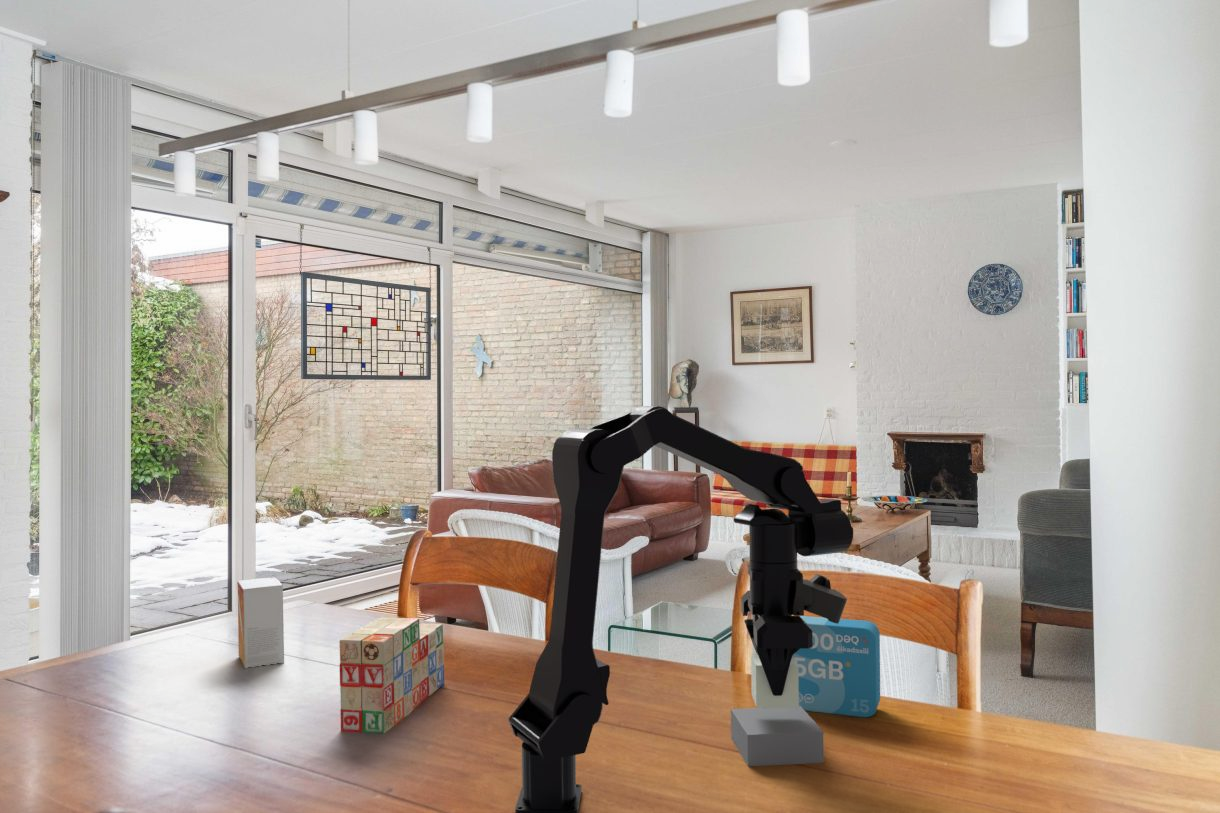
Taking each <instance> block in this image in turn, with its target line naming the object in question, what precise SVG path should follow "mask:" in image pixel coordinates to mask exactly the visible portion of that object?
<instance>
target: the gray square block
mask: <svg viewBox="0 0 1220 813" xmlns="http://www.w3.org/2000/svg"><path fill="white" fill-rule="evenodd" d="M730 739H731V740H732V742H733V744H734V745H735V747H736V749H737V750H738V753H739V754H740V756H741V757H742V759H743V760H744V762H745V764H746V766H747V767H764V766H765V767H766V766H783V765H802V764H803V765H805V764H823V763H824V758H825V757H824V731H823V729H821V727H820V726H819V725H818V724H817V723H816V721H815V720H814V719H813V718H812V717H811V716H810V715H809V713H808V712H807V711H805V710H804V709H803V708H802V707H801V706H799V708H756V707H751V708H750V707H748V708H731V709H730Z"/></svg>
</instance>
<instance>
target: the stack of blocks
mask: <svg viewBox="0 0 1220 813" xmlns="http://www.w3.org/2000/svg"><path fill="white" fill-rule="evenodd" d="M443 627H444V625H443V623H420V618H419V617H418V618H417V617H407V618H406V617H382V616H380V617H378V618H376V619H374V620H372V621H371V622H369V623H367V624H365V625H364V626H362V627H361V628H358V629H356V630H355V631H353V632H352V633H350V634H348V635H346V636H344V637H341V639H339V662H340V663H339V686H340V690H339V691H340V692H339V693H340V710H339V711H340V732H348V733H368V734H383V735H384V734H386V733H387V732H388V731H390V730H391V729H392V728H393V727H395V726H396V725H398V723H400V722H401V721H403V720H404V718H406V717H408V716H409V715H410V714H411V713H412V712H413V711H414V710H415V709H416V708H417V707H418V706H419V705H421V703H423V702H424V701H425V700H426V699H427V698H429V697H430V696H432V695H433V694H434V693H435V692H436V691H437V690H439V689H440V688H441V687H442V686H443V685H445V645H444V633H443V632H444V630H443V629H444V628H443Z"/></svg>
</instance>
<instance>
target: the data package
mask: <svg viewBox="0 0 1220 813" xmlns="http://www.w3.org/2000/svg"><path fill="white" fill-rule="evenodd" d="M800 617H801V618H802V619H803V620H804V621H805V622H806V623H807V624H808V625H809V627H810V628H811V630H812V644H813V647H812V648H808V649H799V650H798V651H797V652H796V653H795V654H793V657H794V659H795V661H796V662H797V664H798V675H799V706H801V707H802V708H803V709H804V710H805V711H806V712H815V713H823V714H832V715H840V716H848V717H856V718H870V717H872V716H874V714H876V712H877V709H878V707H879V704H880V701H881V645H880V644H881V642H880V641H881V640H880V638H881V637H880V636H881V635H880V629H879V627H878V626H877V625H876V624H875V623H874V622H872V621H870V620H869V621H868V620H860V619H859V620H858V619H847V618H845V619H844V618H840V621H839V623H838V624H837V623H833V622H830V621H829V620H828V619H827V618H824V617H821V616H807V615H804V616H800Z"/></svg>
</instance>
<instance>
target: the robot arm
mask: <svg viewBox="0 0 1220 813" xmlns="http://www.w3.org/2000/svg"><path fill="white" fill-rule="evenodd" d="M654 446H655V447H657V448H660V449H662V450H664V451H666V452H668V453H669V454H670V453H671V454H673V455H675V456H677V457H680V458H681V459H683V460H686V461H687V462H690V463H693V464H695V465H696V466H699V467H702V468H704V469H706V470H708V471H710V472H712V473H715V474H717V475H719V476H720V477H722V478H723V479H725V481H726V482H727V483H728V484H729V485H730V487H731V488H733V489H734V490H736V491H737V492H738V493H740V494H741V495H742V496H744V497H745V498H747V499H748V500H749V501H751V502H757V503H758V502H759V503H764V504H765V505H767V506H768V507H770V508H765V509H762V508H761V507H760V505H758V504H751V503H746V504H745V506H744V508H743V509H742V510H741V511H740V512H738V513H737V514H736V515H735V517H734V518H733V522H734V523H735V524H739V525H744V526H749V528H748V530H749V535H748V536H749V537H748V538H749V541H748V542H749V564H747V574H748V576H749V590H746V592H745V593H743V595H741V597H740V612H741V615H742V616H743V617H747V616H749V612H750V613H751V614H750V619H749V618H748V619H747V618H746V619H744V620H743V621H744V624H745V627H746V629H747V632H748V635H749V638H750V640H751V642H752V646H753V648H754V650H755V654H758V656H759V659H760V661H761V664H762V667H763V669H764V672H765V675H766V678H767V680H768V683H769V686H770V688H771V691H772V694H773V695H774V696H781V695H782V694H783V690H784V686H785V682H786V678H787V674H788V670H789V666H790V662H791V659H792V656H793V654H795V653H796V652H797V651H798V650H799V649H808V648H812V647H813V644H812V630H811V628H810V627H809V625H808V624H807V623H806V622H805V621H804V620H803V619H802V618H801V617H800V616H805V611H806V612H808V613H810V614H813V615H817V616H818V617H822V618H827V619H828V620H829V621H830V622H833V623H837V624H838V623H839V621H840V619H842V615H843V612H844V609H845V608H846V604H847V601H848V598H847V597H846V596H845V595H844V594H843V593H841V592H840V591H838V590H837V589H835V588H834V589H833V588H832V587H831V586H832V585H831V580H830V579H829V578H828V577H826V576H823V575H821V574H817V573H816V574H815V575H813V577H811V578H810V580H809V579H807V578H806V579H804V574H803V573H802V572H801V571H800V570H799V569H798V555H799V556H802V557H811V556H812V557H813V556H823V555H832V554H838V553H839V554H840V553H844V552H846V551H848V549H849V548H850V547H851V545H852V543H853V540H854V527H853V526H852V524H851V521H850V518H849V516H848V515H847V514H846V512H845V511H844V510H843V509H842V500H840V499H834V498H824V499H821V500H820V499H819V498H818V497H817V495H816V493H815V491H814V490H813V488H812V487H811V486H810V484H809V482H808V481H807V479H806V476H805V473H804V467H803V465H802V464H801V462H799V461H798V460H797V459H795V458H792V457H789V456H784V455H780V454H775V453H771V452H766V451H758V450H754V449H750V448H747V447H746V448H745V447H743V446H741V445H739V444H737V443H735V442H733V441H731V440H729V439H727V438H724V437H722V436H720V435H718V434H716V433H714V432H712V431H710V430H708V429H706V428H703V427H701V426H699V425H697V424H694V422H693V423H692V422H690V421H688V420H686V419H684V418H682V417H680V416H678V415H676V414H674V413H672V412H670V410H669V409H667V408H666V407H664V406H659V405H658V406H656V405H650V406H649V405H647V406H646V405H642V406H637V407H636V408H634V409H633V410H631V411H629V412H627V413H625V414H623V415H620V416H616V417H614V418H612V419H610V420H606V421H604V422H601V423H597V424H595V425H593V426H591V427H589V428H585V427H584V428H582V427H581V428H580V427H577V428H570V429H568V430H566V431H564V432H563V433H562V434H561V435H560V436H559V437H557V438H556V440H555V441H554V443H553V447H552V452H551V458H552V473H553V475H552V476H553V483H554V487H555V490H556V494H557V496H558V501H559V504H560V511H561V513H560V514H561V515H560V522H559V523H560V524H559V534H558V545H557V546H558V547H557V557H556V564H555V567H556V568H555V575H554V586H553V597H552V598H553V599H552V609H551V616H550V617H551V618H550V629H549V637H548V640H547V643H546V645H545V647H544V649H543V650H542V651H541V652H542V653H541V654H540V656H539V658H538V660H537V661H536V664H535V667H534V671H533V675H532V680H531V684H530V687H529V692H528V694H527V695H525V697H524V699H523V700H522V701H521V702H520V704H519V705H518V706H517V707H516V708H515V709H514V711H513V713H512V714H511V715H510V716H509V717H508V722H509V725H510V728H511V730H512V731H511V732H512V733H513V735H514V736H515V737H516V738H517V737H518V738H519V739H520V740H521V741H522V743H521V775H522V776H521V783H522V785H521V789H520V792H519V796H518V799H517V802H516V805H515V810H514V811H515V813H579V808H580V803H581V802H580V801H581V796H582V788H583V787H582V784H578V783H577V767H576V766H577V765H576V764H577V762H576V759H577V755H581V754H585V753H586V751H587V748H588V744H589V741H590V737H591V735H592V731H593V728H594V726H595V724H598V723H599V720H600V719H601V717H602V712H603V706H608V705H609V698H608V695H607V693H608V692H607V691H608V690H607V688H608V683H609V680H610V674H611V672H610V671H611V670H610V669H611V668H610V667H611V666H610V665H609V664H607V663H605V662H603V661H601V659H597V657H596V653H595V651H594V634H595V633H594V632H595V623H596V622H595V621H596V610H597V600H598V589H599V579H600V571H601V570H600V567H601V558H602V557H601V556H602V546H603V537H604V526H605V516H606V513H607V510H608V508H609V507H610V505H611V504H612V501H613V499H614V498H615V496H616V494H617V493H618V490H619V488H620V484H621V479H622V476H623V472H624V468H625V466H626V465H628V464H630V463H632V462H634V461H636V460H638V459H640V458H641V457H642V456H644V455H645V454H646V453H647V452H648V451H650V450H651V449H653V447H654ZM782 510H787V511H788V512H787V514H786V513H785V512H784V511H782Z"/></svg>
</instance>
